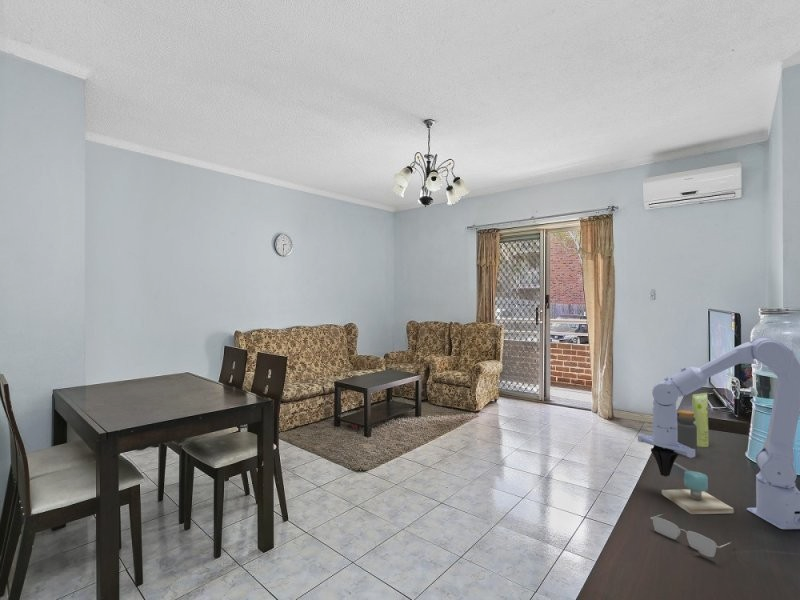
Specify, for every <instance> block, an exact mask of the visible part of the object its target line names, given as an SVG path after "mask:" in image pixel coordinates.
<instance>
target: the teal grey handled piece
mask: <svg viewBox="0 0 800 600" xmlns="http://www.w3.org/2000/svg"><path fill="white" fill-rule="evenodd" d="M670 474H671V475H674V476H675V477H677V478H678V479H681V480H682V481H683V482H684V486H685V488H687V489H692V490H696V491H705V492H707V491H708V490H709V489H708V487H709V485H708V484H709V481H708V479H709V478H708V475H706V474H704V473H702V472H699V471H696V470H695V471H694V470H690V469H688V468H687V467H684V466H682V465H681V464H679V463H677V462H675V461H674V463H673V466H672V469H671V472H670Z"/></svg>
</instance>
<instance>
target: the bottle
mask: <svg viewBox="0 0 800 600" xmlns="http://www.w3.org/2000/svg"><path fill="white" fill-rule="evenodd" d="M677 414H678V415H677V420H678V421H677V442H678V443H680V444H682V445H685V446H687V447H689V448H692V449H695V457H694V458H696V457H697V456H698V446H697V426H696V425H695V424H694V423H693V422H694V421H695V418H694V414H695V413H694V412H692V410H686V409H684V410H683V409H679V410H677ZM678 456H682V457H686V458H688V457H687V456H686V455H683V454H680V453H679V455H678Z"/></svg>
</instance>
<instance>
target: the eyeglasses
mask: <svg viewBox="0 0 800 600" xmlns="http://www.w3.org/2000/svg"><path fill="white" fill-rule="evenodd" d="M663 515H665V516H666V517H667V518H668V520H667V519H665V518H662V517H660V516H663ZM650 520H652V524H653V528H654V530H655V532H656V533H659V534H660V535H663V536H664V537H667V538H670V539H673V540H677V538H678V537H679V536H680V535H681V531H684V532H685V533H686V539H687V541H688V544H689V546H690V548H691V549H694V550H696V551H697V553H699V554H701V555H703V556H705V557H708V558H714V557H715V555H716V551H717V548H718V549H722V548H723V547H726V546H727V545H729V544H732V545H733V547H735V546H736V545H735V542H734V540H732V541H730V542H728V543H726V544H723V545H720V546H719V545H717V543H716V541H714V540H712V539H711V538H709V537H706V536H705V535H702V534H700V533H698V532H695V531H692V530H687V531H686V530H685V529H683V528H679V527H678V525H677V524H675V523H673V522H671V521H670V520H671V519H670V517H669V515H668V514H666V513H662V514H657V515H656V516H655V515H654V516H651V517H650Z"/></svg>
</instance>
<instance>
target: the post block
mask: <svg viewBox="0 0 800 600" xmlns="http://www.w3.org/2000/svg"><path fill="white" fill-rule="evenodd" d="M661 495H662V496H663V497H664V498H667V499H668V500H669V501H671V502H672V503H673V504H675V505H677V506H678V507H680V509H682V510H684V511H686V512H687V513H688V514H690V515H714V514H715V515H717V514H719V515H720V514H722V515H723V514H734V512H735V510H734V507H732V506H730V505H728V504H727V503H725V502H723V501H722V500H720V499H718V498H716V497H715V496H714V495H711V494H710V493H708V492H707V491H696V490H692V489H689V488H687V489H685V488H684V489H683V488H682V489H661Z"/></svg>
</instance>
